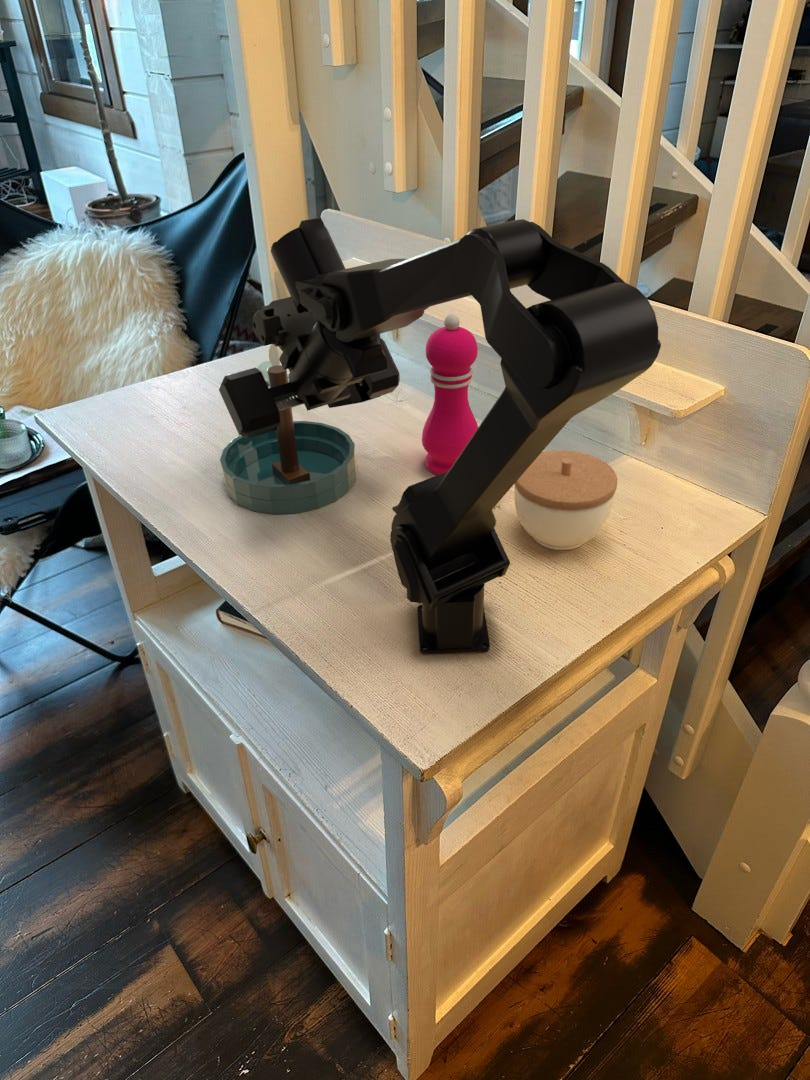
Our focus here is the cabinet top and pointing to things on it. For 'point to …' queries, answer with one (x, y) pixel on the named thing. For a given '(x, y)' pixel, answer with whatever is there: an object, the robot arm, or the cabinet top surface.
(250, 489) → the bowl
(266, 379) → the pacifier
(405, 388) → the cabinet top surface
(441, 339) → the pepper mill
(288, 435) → the brown wooden post
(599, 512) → the trinket box
